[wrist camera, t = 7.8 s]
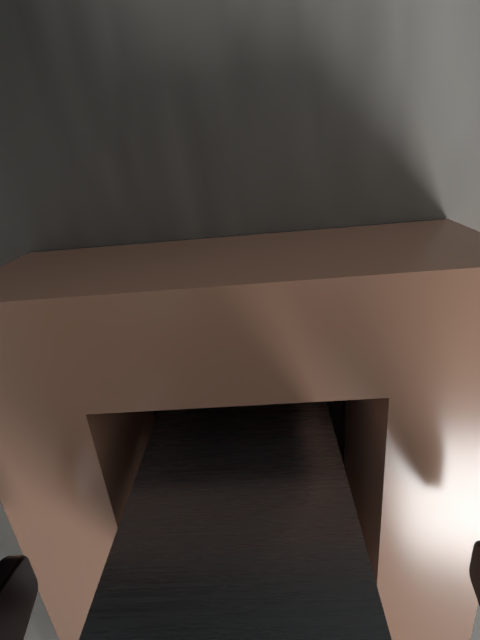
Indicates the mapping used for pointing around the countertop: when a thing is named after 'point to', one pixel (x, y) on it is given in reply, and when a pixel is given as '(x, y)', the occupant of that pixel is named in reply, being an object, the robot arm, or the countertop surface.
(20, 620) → the robot arm
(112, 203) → the countertop surface
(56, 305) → the orange square socket block
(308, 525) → the tall grey square pillar
